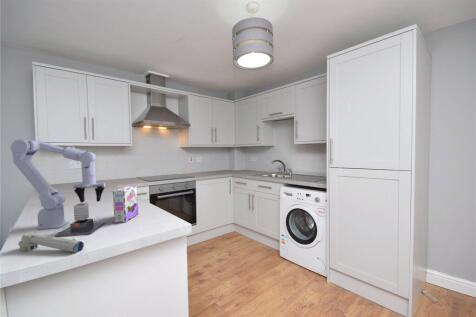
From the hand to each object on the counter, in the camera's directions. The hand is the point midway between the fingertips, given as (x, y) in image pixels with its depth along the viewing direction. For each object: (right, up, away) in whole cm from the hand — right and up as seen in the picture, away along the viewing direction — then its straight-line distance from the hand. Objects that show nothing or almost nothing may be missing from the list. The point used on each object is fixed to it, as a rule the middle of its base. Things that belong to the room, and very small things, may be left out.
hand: (90, 201), depth 111 cm
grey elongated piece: (+7, -12, -31) cm, 34 cm away
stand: (+4, -11, -11) cm, 16 cm away
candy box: (+17, -10, +4) cm, 20 cm away
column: (+4, -6, -11) cm, 13 cm away
